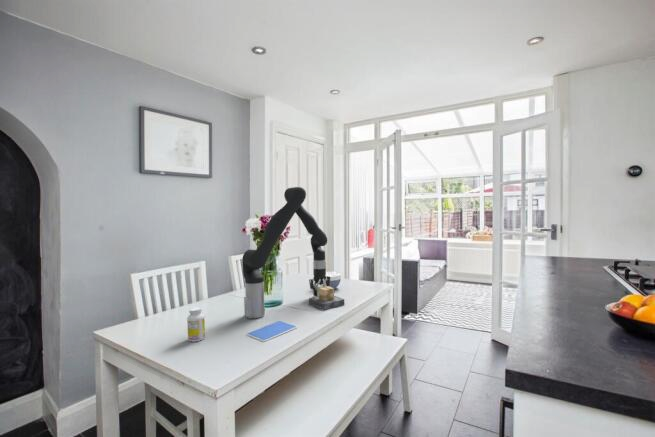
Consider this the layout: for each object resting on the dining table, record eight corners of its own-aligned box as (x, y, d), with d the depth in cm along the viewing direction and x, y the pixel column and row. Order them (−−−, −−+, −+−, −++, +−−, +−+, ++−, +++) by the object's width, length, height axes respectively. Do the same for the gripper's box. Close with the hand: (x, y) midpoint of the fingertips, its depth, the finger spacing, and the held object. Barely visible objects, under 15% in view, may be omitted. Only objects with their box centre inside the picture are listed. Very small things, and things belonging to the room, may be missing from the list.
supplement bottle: (200, 334, 140) (199, 305, 139) (208, 338, 135) (207, 308, 135) (185, 339, 134) (183, 309, 134) (193, 343, 130) (191, 312, 130)
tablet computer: (264, 343, 130) (264, 340, 130) (245, 336, 138) (245, 333, 138) (298, 329, 145) (298, 326, 145) (279, 323, 153) (279, 320, 153)
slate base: (323, 309, 169) (323, 304, 169) (309, 303, 181) (309, 298, 181) (344, 304, 177) (344, 299, 177) (329, 298, 189) (329, 293, 189)
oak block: (325, 301, 175) (325, 290, 175) (319, 298, 180) (318, 287, 179) (334, 299, 178) (333, 288, 178) (327, 296, 183) (327, 286, 183)
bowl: (314, 286, 218) (314, 272, 218) (336, 284, 223) (336, 270, 223) (321, 292, 203) (320, 277, 203) (344, 290, 208) (344, 275, 208)
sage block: (318, 299, 189) (318, 288, 189) (313, 296, 194) (313, 286, 194) (327, 297, 193) (326, 287, 193) (321, 294, 198) (321, 285, 197)
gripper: (325, 264, 200) (326, 291, 201) (306, 267, 192) (306, 295, 192) (332, 266, 194) (333, 294, 195) (312, 269, 186) (313, 298, 186)
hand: (320, 294), depth 193 cm, fingers closed on sage block, 6 cm apart
